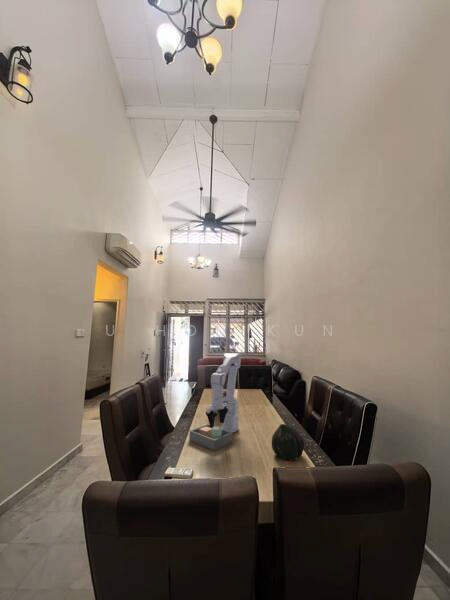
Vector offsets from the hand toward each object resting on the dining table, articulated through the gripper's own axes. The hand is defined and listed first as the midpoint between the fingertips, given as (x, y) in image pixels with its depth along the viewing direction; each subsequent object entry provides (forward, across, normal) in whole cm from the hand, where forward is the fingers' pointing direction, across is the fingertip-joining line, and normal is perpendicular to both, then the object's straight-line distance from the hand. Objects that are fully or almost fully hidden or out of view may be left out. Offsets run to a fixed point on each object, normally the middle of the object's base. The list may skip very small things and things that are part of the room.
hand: (216, 424), depth 134 cm
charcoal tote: (+9, 0, +4) cm, 10 cm away
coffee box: (+10, +33, +27) cm, 44 cm away
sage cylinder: (+9, 0, 0) cm, 9 cm away
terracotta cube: (+9, 0, +8) cm, 12 cm away
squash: (+10, +13, -33) cm, 37 cm away
